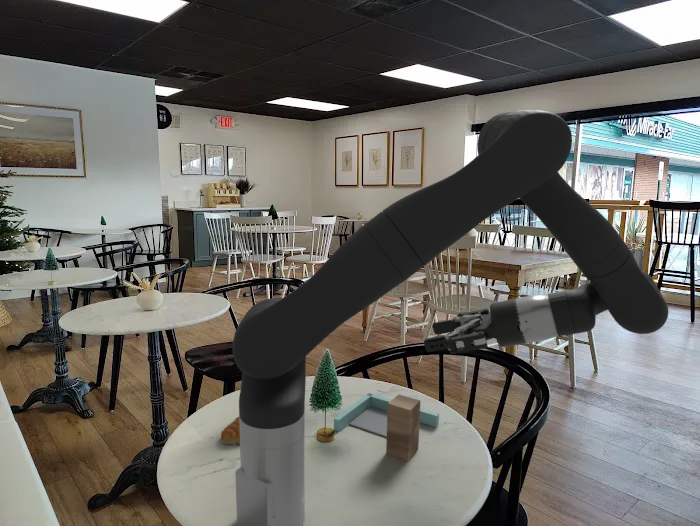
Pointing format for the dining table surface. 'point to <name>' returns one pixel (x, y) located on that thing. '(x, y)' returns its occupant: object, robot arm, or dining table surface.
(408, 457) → the walnut block
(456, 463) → the dining table surface
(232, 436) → the pastry
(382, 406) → the teal corner fixture
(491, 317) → the robot arm
